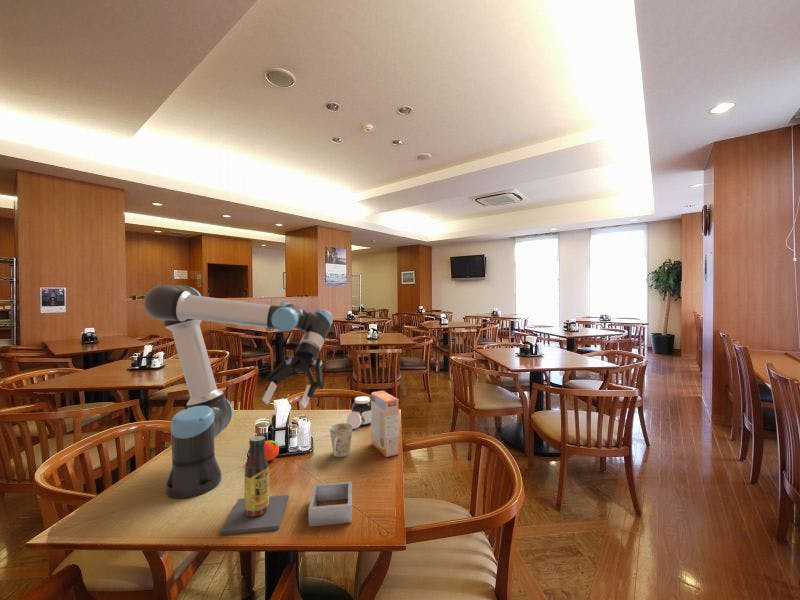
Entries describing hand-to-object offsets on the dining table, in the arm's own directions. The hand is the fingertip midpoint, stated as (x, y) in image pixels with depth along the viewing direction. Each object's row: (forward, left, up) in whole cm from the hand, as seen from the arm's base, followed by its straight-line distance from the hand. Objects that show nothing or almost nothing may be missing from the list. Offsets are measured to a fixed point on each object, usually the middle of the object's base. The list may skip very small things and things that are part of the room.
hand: (283, 404), depth 109 cm
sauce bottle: (-5, -12, -25) cm, 29 cm away
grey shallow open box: (+15, -14, -26) cm, 33 cm away
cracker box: (+33, +23, -26) cm, 48 cm away
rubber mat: (-5, -12, -26) cm, 30 cm away
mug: (+16, +19, -26) cm, 37 cm away
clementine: (-9, +21, -26) cm, 35 cm away
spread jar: (+24, +50, -26) cm, 61 cm away
